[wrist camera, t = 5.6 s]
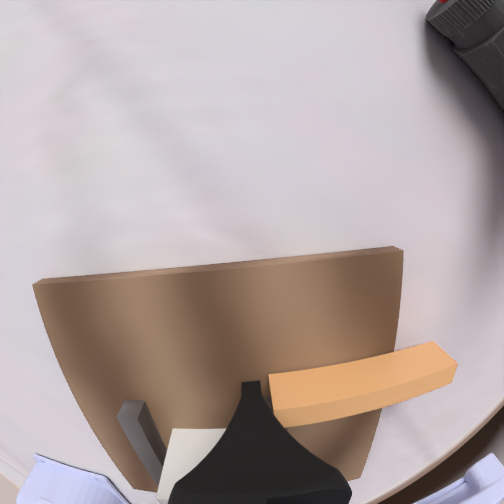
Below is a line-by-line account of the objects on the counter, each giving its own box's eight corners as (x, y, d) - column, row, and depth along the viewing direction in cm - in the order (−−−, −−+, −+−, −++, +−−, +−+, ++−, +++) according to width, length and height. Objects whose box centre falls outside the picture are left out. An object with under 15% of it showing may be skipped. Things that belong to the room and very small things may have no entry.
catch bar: (269, 392, 12) (274, 429, 10) (268, 374, 12) (273, 410, 10) (428, 358, 13) (451, 382, 10) (432, 340, 12) (457, 363, 10)
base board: (136, 480, 16) (129, 501, 13) (42, 278, 12) (15, 294, 10) (356, 469, 16) (364, 491, 14) (392, 246, 12) (421, 258, 10)
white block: (188, 465, 14) (179, 526, 9) (172, 428, 13) (156, 498, 8) (250, 464, 14) (253, 528, 9) (243, 427, 13) (245, 502, 8)
